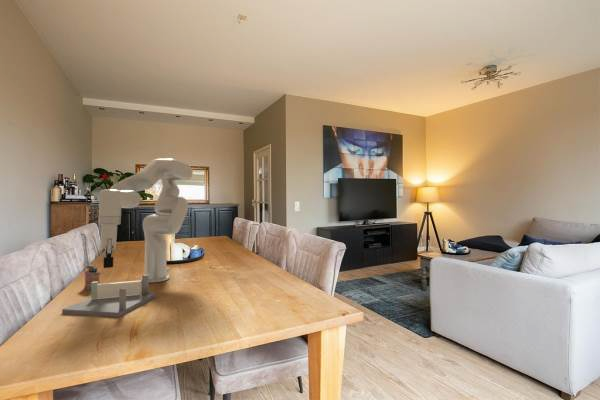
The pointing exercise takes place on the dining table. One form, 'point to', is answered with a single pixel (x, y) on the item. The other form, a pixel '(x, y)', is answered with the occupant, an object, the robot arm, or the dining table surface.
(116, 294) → the pale rectangular block
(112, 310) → the base
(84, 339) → the dining table surface
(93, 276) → the lighter
